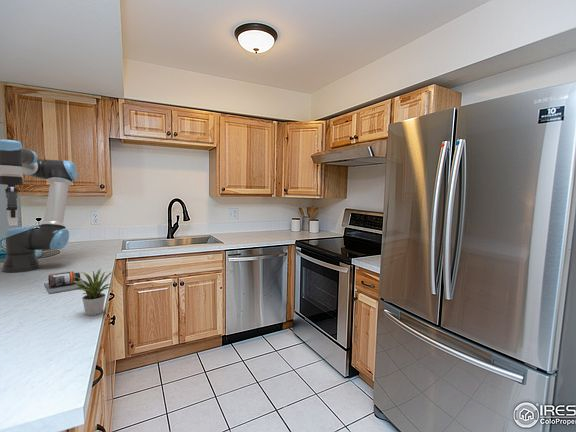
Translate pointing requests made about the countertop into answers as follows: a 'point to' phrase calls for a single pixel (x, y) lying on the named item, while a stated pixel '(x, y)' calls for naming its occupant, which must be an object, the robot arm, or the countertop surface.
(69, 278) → the supplement bottle
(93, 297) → the house plant
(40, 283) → the countertop surface
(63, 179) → the robot arm
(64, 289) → the rubber mat
